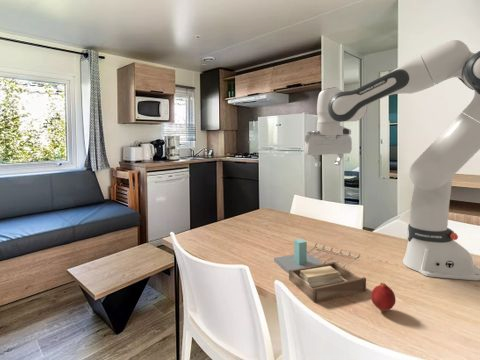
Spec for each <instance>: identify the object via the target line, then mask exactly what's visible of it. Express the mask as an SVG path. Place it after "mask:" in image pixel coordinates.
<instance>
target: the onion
mask: <svg viewBox="0 0 480 360" xmlns="http://www.w3.org/2000/svg"><path fill="white" fill-rule="evenodd" d="M370 299H371V302H372V304H373V305H374V306H375V307H376V308H377V309H378V310H379V311H381V312H386V311H389V310H391V309H393V307H395V305H396V301H397V300H396V294H395V293H394V291H393V290H392V289H391V287H390V286H388V285H387V284H386V283H385V282H380V284H378V285H377V286H375V287H374V288H373V289H372V291H371V293H370Z"/></svg>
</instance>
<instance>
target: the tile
mask: <svg viewBox="0 0 480 360" xmlns="http://www.w3.org/2000/svg"><path fill="white" fill-rule="evenodd" d="M273 261H274V262H275V263H276V264H277V265H278V266H279V267H280V268H282V269H283V270H284V271H285V272H286V273H287V274H288V275H289V270H294V269H300V268H305V267H311V266H316V265H321V264H324V262H322V261H320V259H318V258H316V257H314V256H313V255H311V254H310V253H309V252H307V263H305V264H300V265H299V264H298V263H296V262H295V261H294V254H290V255H283V256H278V257H274V258H273Z"/></svg>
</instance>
